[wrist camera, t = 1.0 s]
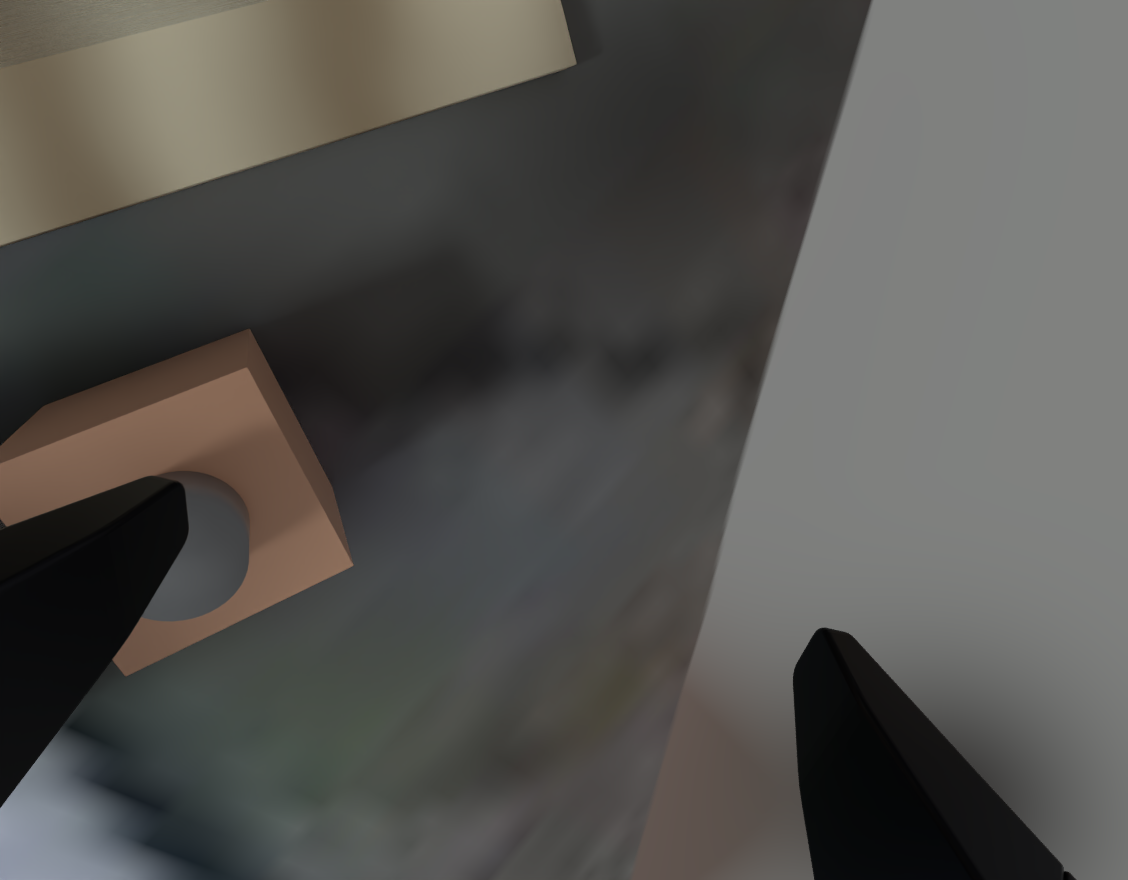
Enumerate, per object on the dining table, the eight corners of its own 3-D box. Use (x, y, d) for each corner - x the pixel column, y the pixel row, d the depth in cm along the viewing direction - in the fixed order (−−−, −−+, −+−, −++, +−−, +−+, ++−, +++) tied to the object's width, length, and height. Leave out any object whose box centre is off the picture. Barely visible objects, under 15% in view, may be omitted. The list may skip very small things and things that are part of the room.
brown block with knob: (156, 566, 18) (111, 727, 13) (44, 405, 16) (-72, 511, 11) (332, 486, 20) (363, 601, 14) (249, 327, 18) (246, 385, 12)
